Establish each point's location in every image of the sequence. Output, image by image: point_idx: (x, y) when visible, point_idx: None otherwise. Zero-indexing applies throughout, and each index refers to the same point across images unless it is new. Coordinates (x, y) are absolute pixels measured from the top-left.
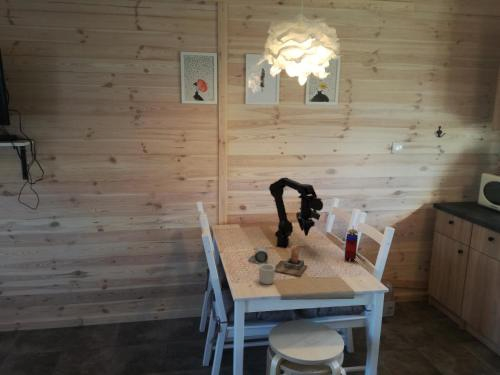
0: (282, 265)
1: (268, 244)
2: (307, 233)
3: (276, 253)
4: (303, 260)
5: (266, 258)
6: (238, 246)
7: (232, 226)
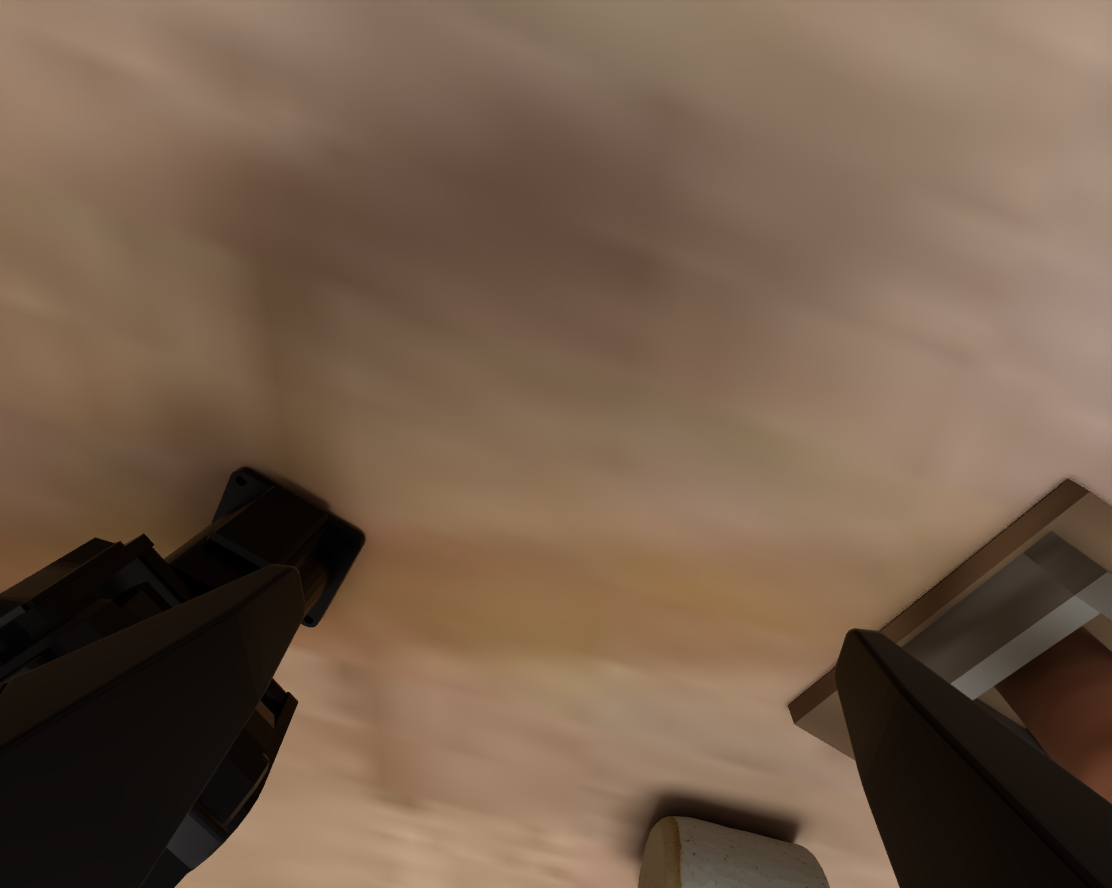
0: None
1: None
2: (965, 724)
3: (529, 671)
4: (1100, 580)
5: (755, 850)
6: (347, 881)
7: None
